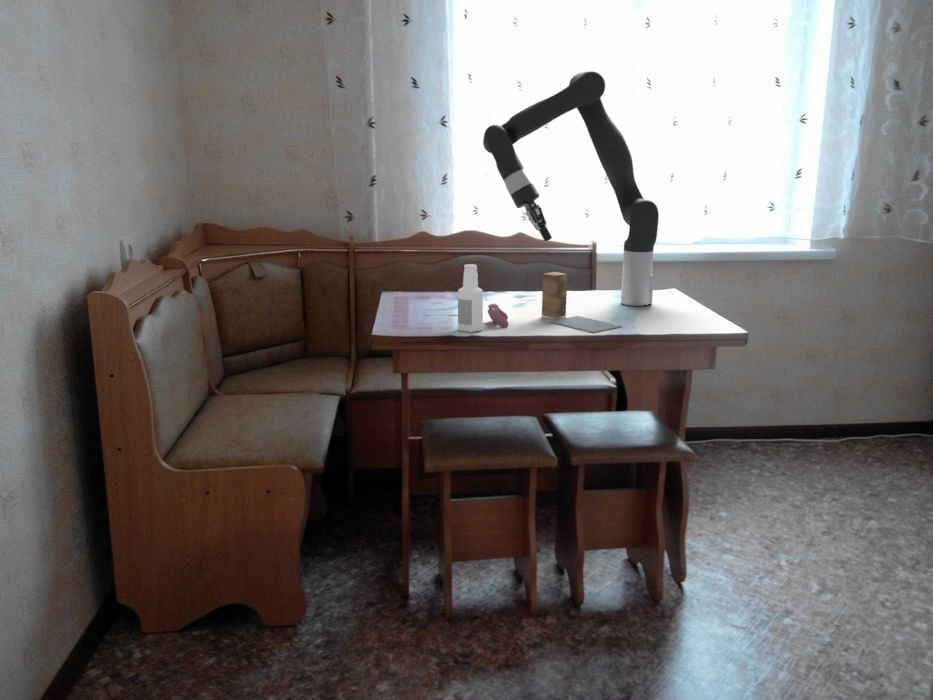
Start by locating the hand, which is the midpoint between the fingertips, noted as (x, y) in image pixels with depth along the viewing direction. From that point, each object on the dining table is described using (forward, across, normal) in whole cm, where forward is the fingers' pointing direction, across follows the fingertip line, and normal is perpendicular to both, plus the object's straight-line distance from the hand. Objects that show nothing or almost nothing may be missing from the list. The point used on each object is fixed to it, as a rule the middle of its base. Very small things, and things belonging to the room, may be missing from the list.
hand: (548, 240), depth 235 cm
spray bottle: (+13, -15, +34) cm, 39 cm away
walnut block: (+21, 0, +9) cm, 23 cm away
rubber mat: (+27, -9, +4) cm, 29 cm away
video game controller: (+15, -8, +26) cm, 31 cm away
